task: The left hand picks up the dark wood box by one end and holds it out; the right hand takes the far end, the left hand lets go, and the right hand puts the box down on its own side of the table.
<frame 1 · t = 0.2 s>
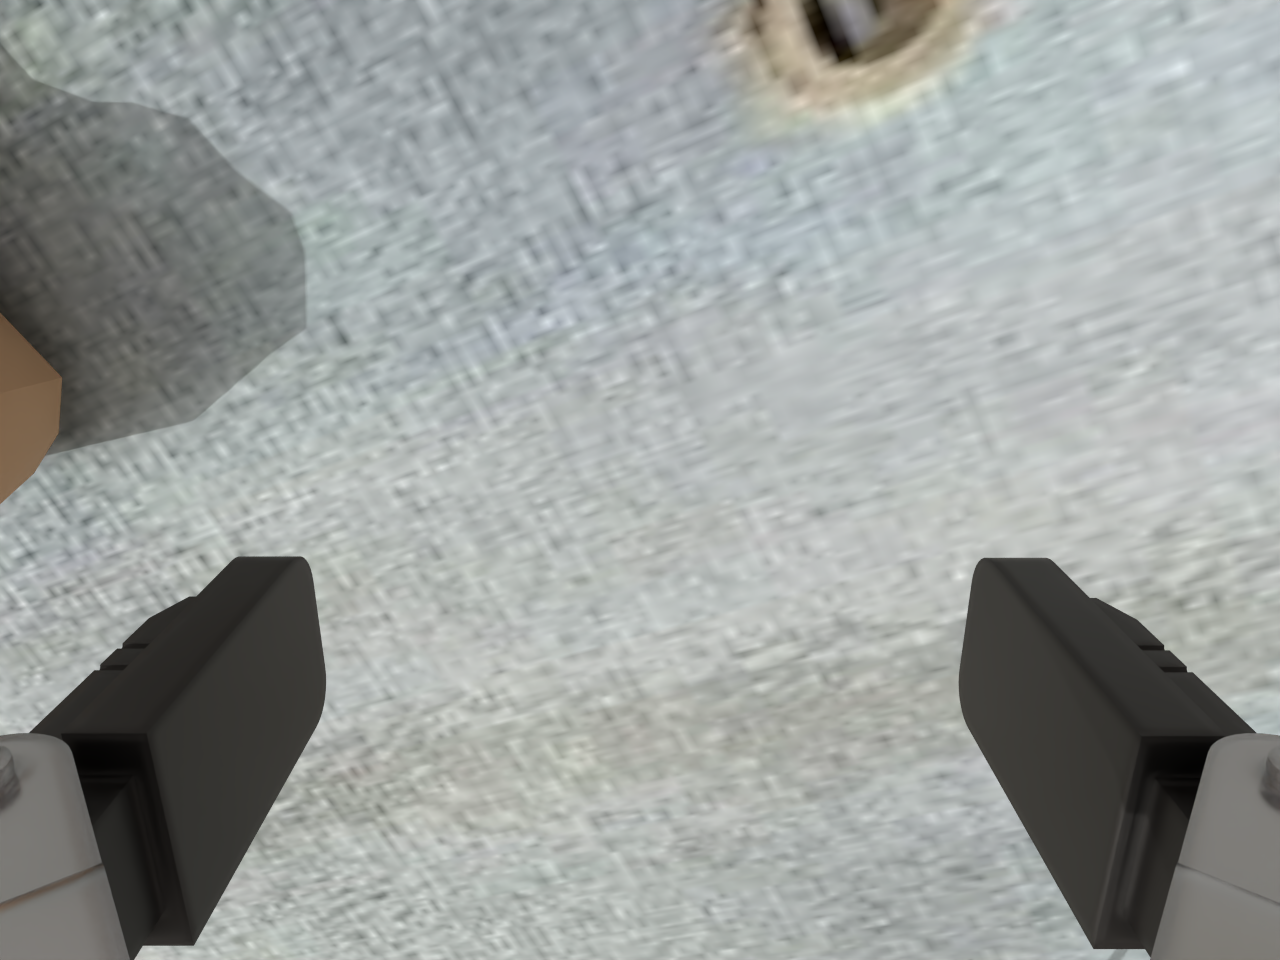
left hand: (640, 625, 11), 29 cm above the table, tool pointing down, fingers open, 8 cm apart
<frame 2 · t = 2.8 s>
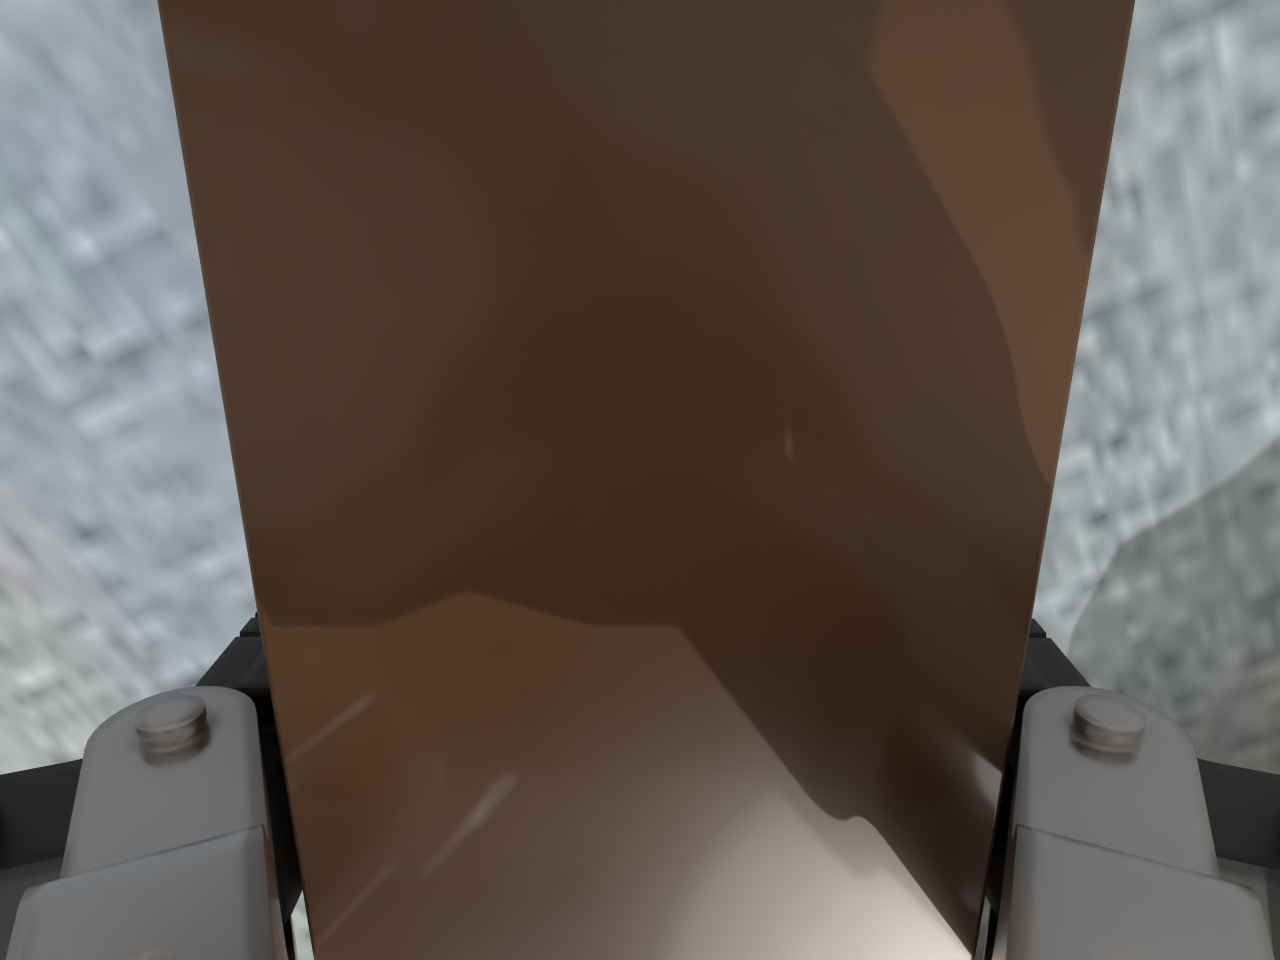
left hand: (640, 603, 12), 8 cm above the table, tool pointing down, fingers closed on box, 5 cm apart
box: (641, 77, 17), on the table, touching left hand
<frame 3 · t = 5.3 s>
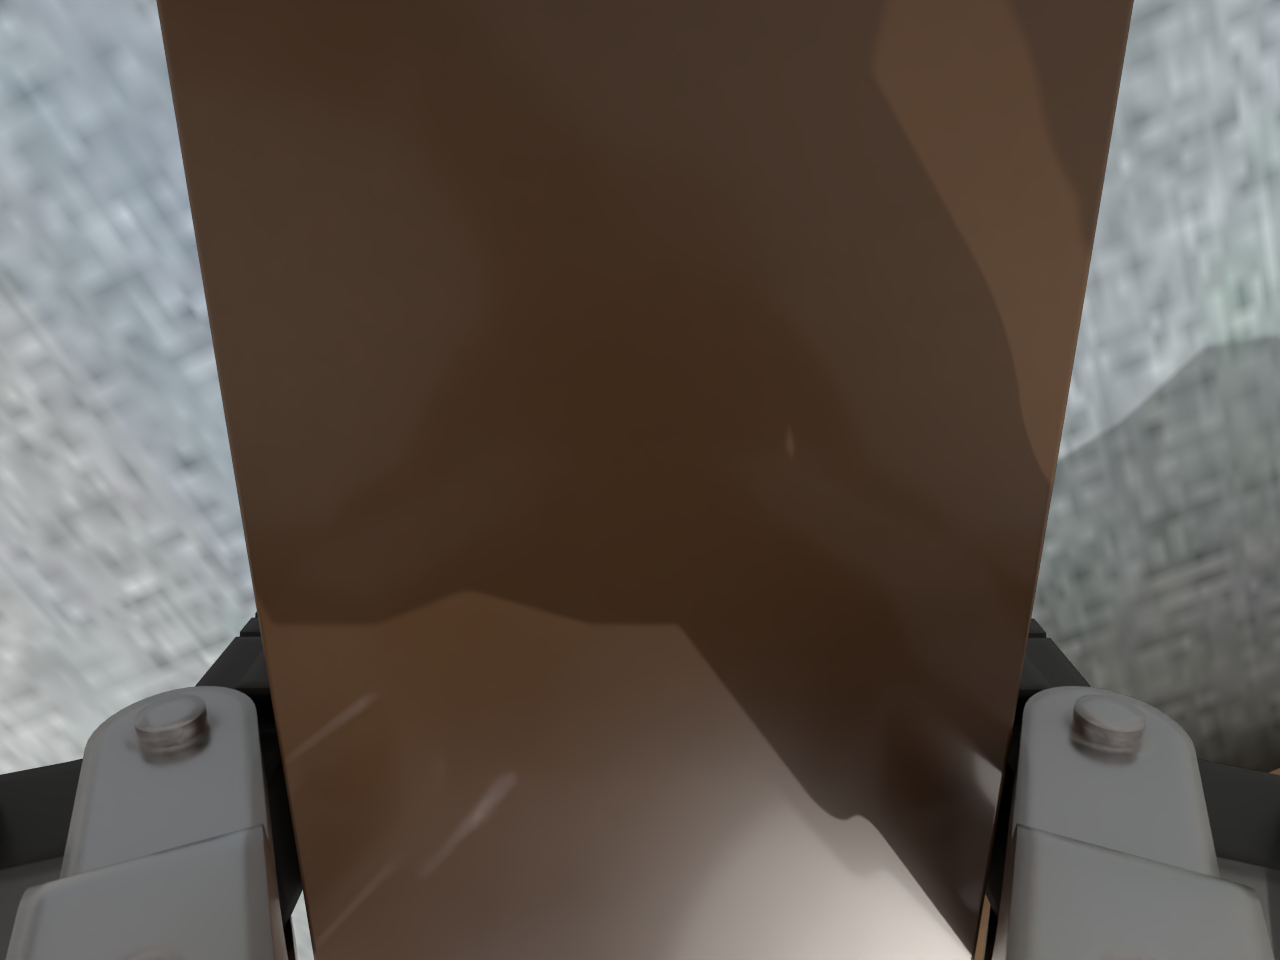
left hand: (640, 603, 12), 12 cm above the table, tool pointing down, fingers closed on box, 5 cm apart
box: (641, 76, 17), point 5 cm above the table, touching left hand
squash: (1151, 864, 29), on the table
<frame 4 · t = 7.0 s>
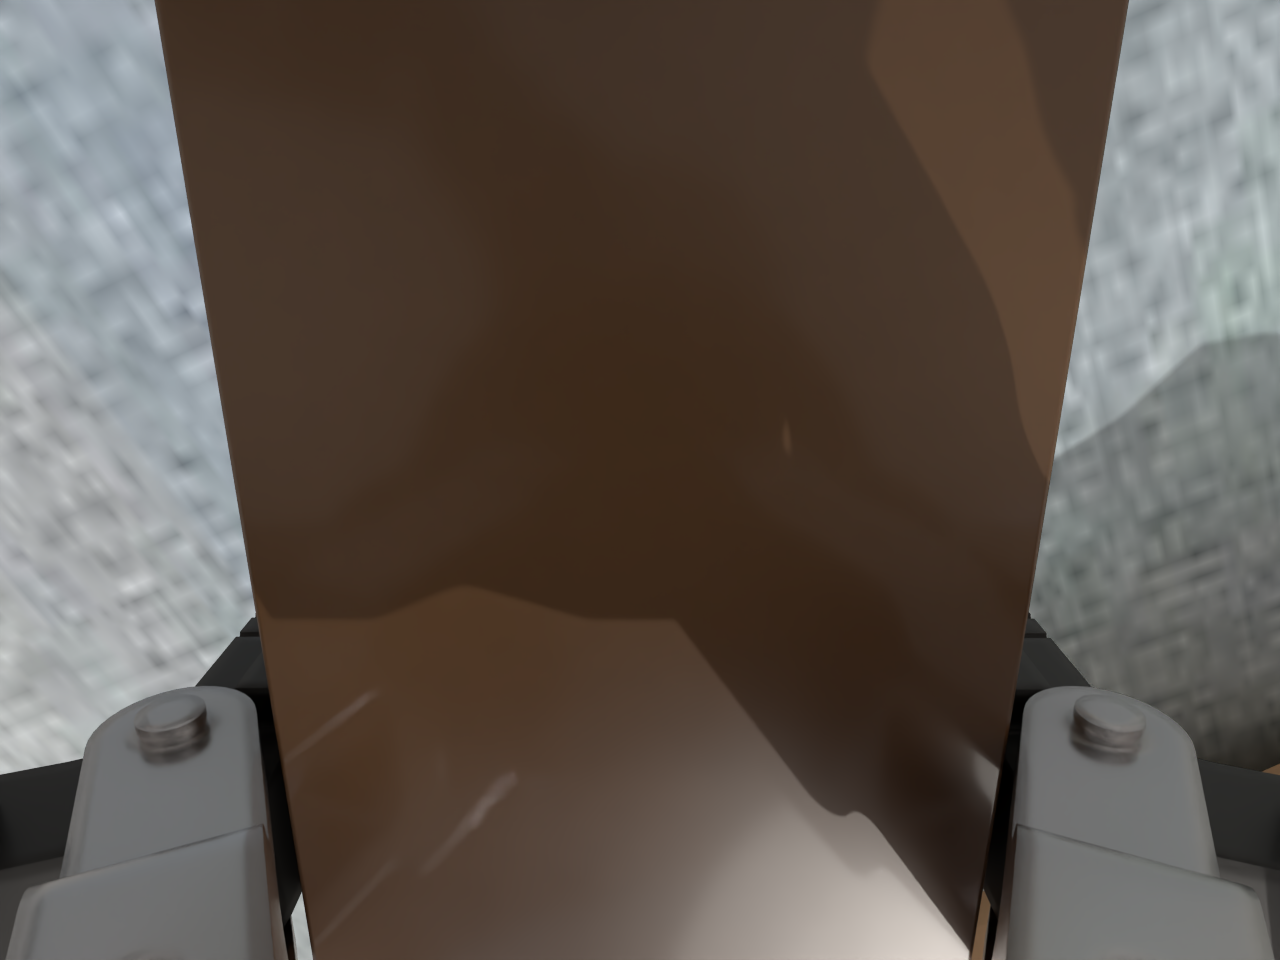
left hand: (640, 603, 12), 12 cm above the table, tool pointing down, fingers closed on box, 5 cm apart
box: (640, 76, 17), point 5 cm above the table, touching left hand, right hand
squash: (1149, 861, 29), on the table
when the left hand's fingers open (12 cm above the table, at t = 8.1 s): box stays where it is, held by the right hand.
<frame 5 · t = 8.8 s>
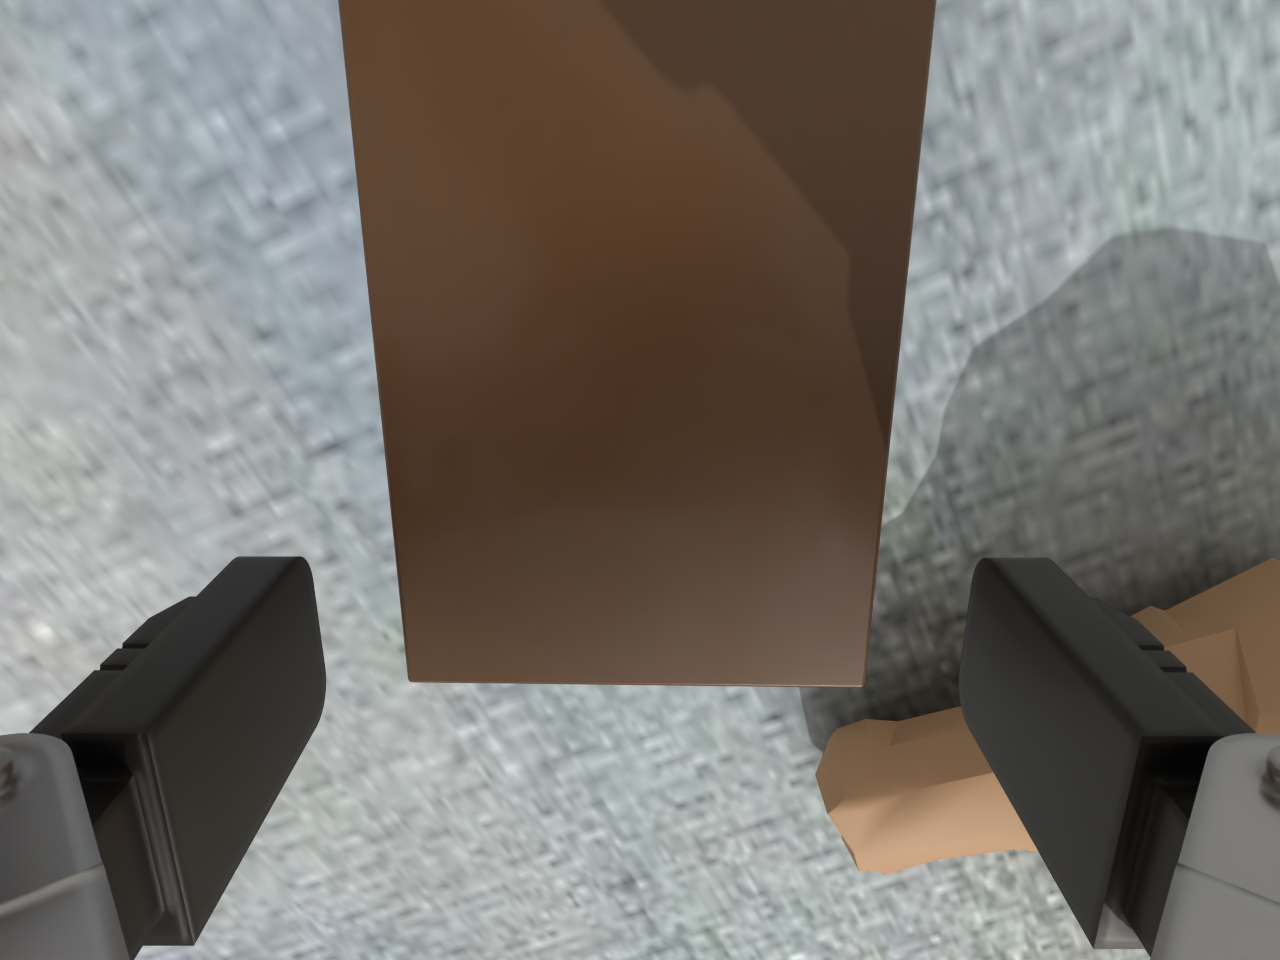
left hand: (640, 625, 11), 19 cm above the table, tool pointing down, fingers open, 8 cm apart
squash: (1081, 702, 33), on the table
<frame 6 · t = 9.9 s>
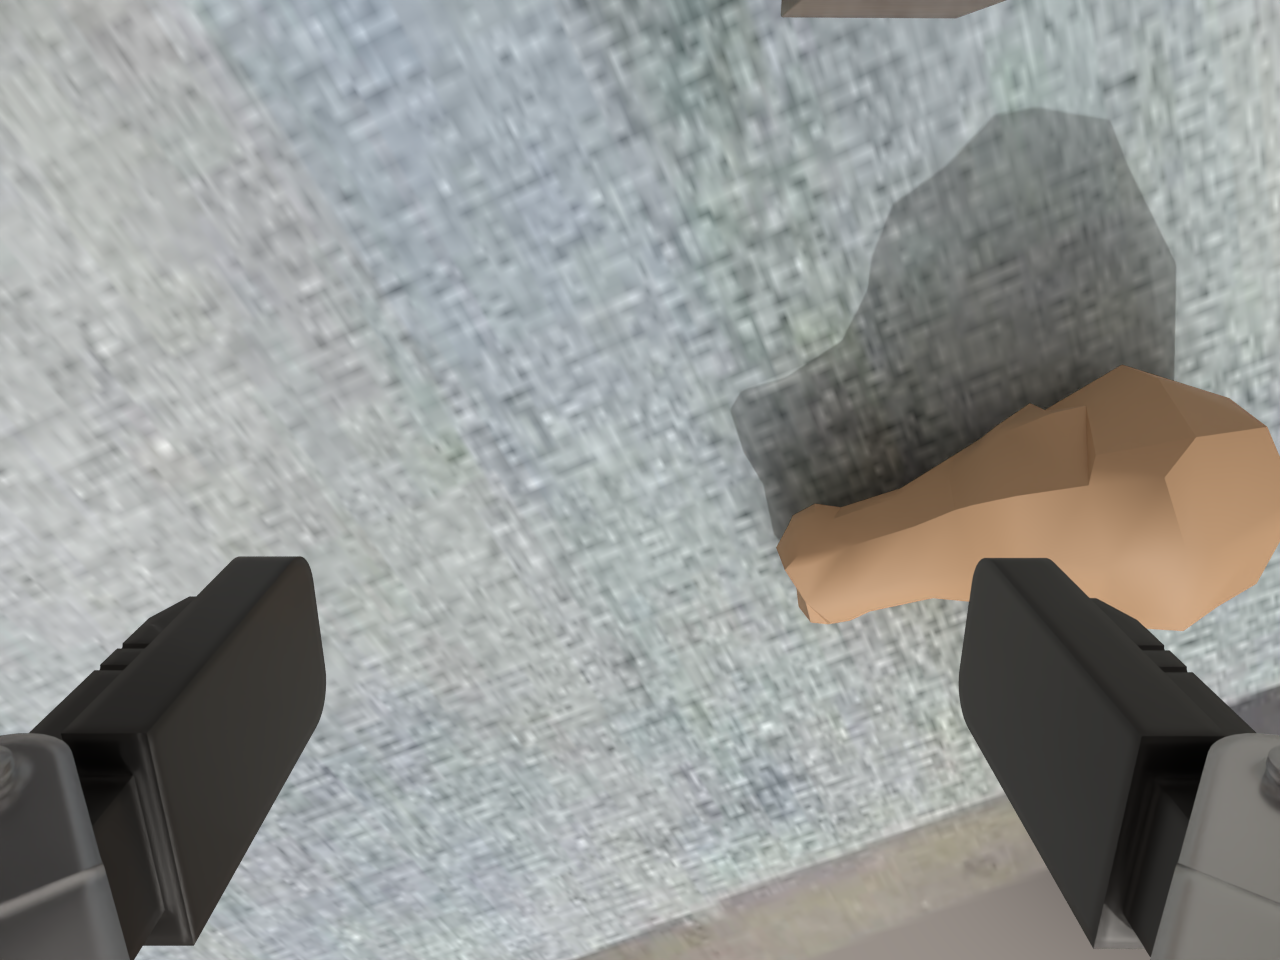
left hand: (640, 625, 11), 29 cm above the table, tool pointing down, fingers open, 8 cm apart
squash: (986, 498, 42), on the table
when the right hand's fingers open (8 cm above the table, at t = 13.0 s): box drops 1 cm, on the table.
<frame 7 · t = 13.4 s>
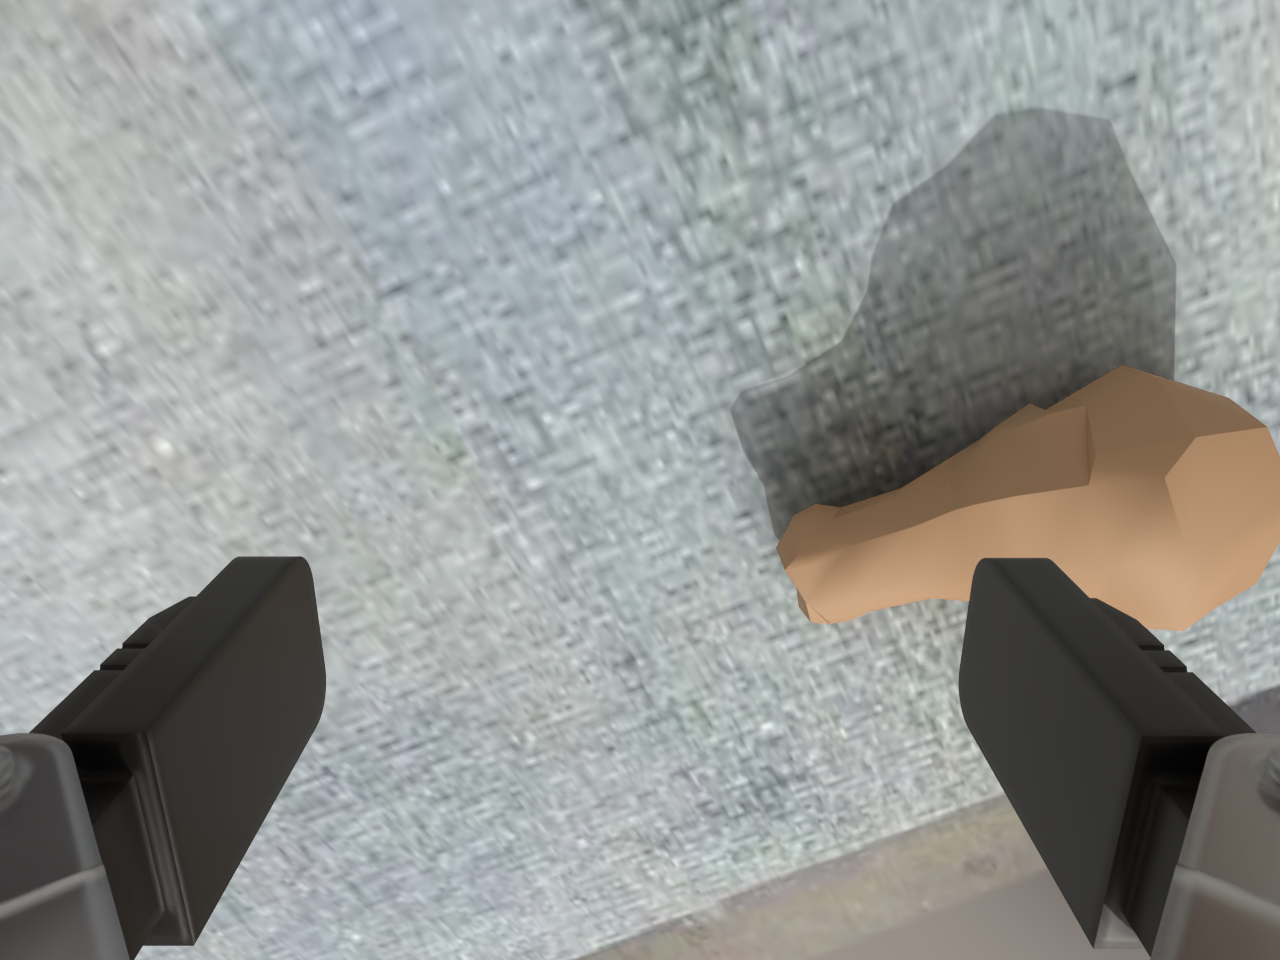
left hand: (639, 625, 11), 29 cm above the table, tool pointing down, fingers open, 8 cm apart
squash: (986, 498, 42), on the table
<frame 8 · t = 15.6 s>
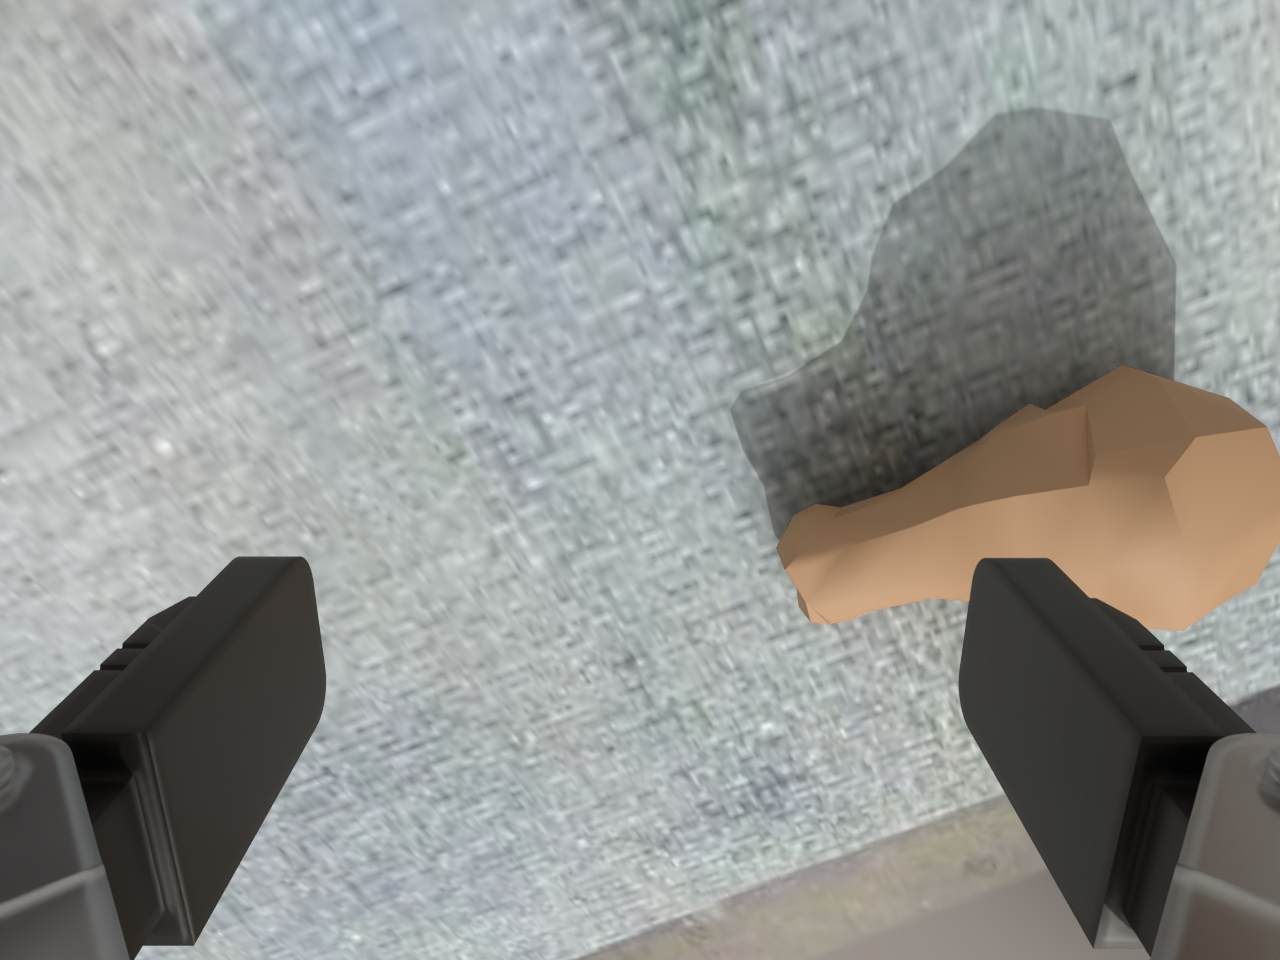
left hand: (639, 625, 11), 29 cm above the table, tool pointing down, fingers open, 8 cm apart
squash: (986, 498, 42), on the table
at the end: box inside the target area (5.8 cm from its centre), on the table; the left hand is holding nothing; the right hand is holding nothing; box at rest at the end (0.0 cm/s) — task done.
